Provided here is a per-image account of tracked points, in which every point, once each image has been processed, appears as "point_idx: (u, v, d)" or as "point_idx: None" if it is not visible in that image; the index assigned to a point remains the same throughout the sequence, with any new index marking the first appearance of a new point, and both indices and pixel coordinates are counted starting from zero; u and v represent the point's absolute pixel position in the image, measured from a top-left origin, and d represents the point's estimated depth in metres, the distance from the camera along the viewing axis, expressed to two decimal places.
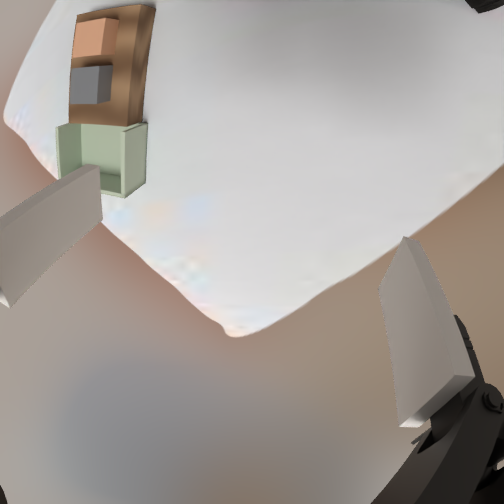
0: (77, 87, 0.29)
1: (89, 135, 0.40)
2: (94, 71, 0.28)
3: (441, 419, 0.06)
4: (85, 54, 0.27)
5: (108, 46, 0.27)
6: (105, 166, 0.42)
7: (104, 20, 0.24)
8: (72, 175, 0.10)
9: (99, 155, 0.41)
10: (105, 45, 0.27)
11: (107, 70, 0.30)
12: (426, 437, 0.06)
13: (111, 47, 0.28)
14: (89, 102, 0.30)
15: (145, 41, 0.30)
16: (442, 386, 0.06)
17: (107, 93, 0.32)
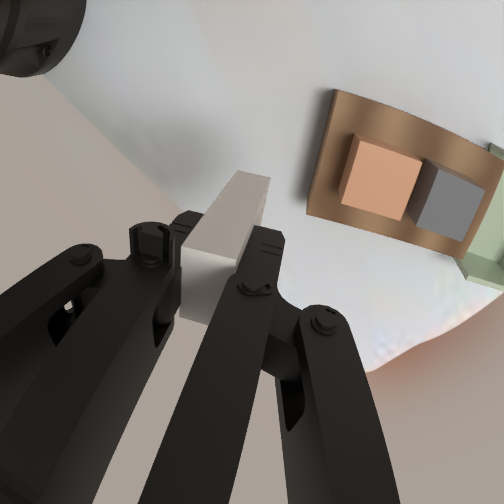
0: (449, 220, 0.20)
1: None
2: (442, 180, 0.19)
3: None
4: (408, 192, 0.20)
5: (404, 152, 0.20)
6: None
7: (365, 143, 0.19)
8: (237, 182, 0.12)
9: (498, 229, 0.26)
10: (404, 154, 0.19)
11: (437, 164, 0.20)
12: None
13: (403, 150, 0.20)
14: (478, 203, 0.19)
15: (391, 107, 0.22)
16: (206, 268, 0.08)
17: (465, 176, 0.20)
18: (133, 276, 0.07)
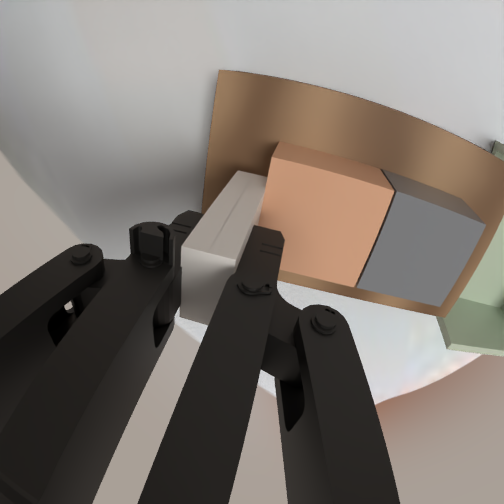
0: (417, 276, 0.13)
1: None
2: (404, 212, 0.11)
3: None
4: (367, 243, 0.12)
5: (363, 171, 0.12)
6: None
7: (281, 160, 0.11)
8: (237, 182, 0.12)
9: (503, 266, 0.18)
10: (362, 175, 0.12)
11: (399, 180, 0.12)
12: None
13: (363, 167, 0.13)
14: (471, 247, 0.11)
15: (325, 88, 0.14)
16: (206, 268, 0.08)
17: (452, 198, 0.12)
18: (133, 276, 0.07)
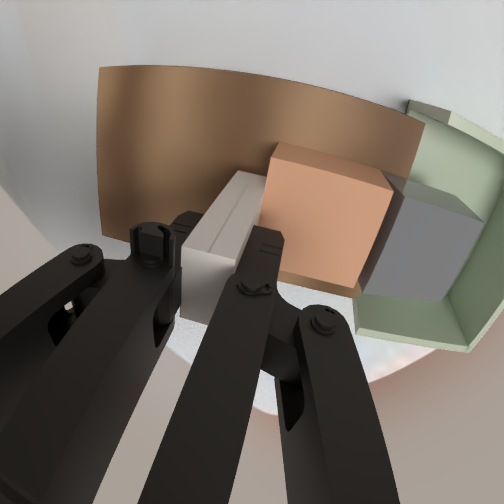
0: (421, 276, 0.13)
1: None
2: (411, 216, 0.11)
3: None
4: (367, 244, 0.12)
5: (363, 171, 0.12)
6: None
7: (281, 161, 0.11)
8: (238, 182, 0.12)
9: None
10: (362, 176, 0.12)
11: (400, 182, 0.12)
12: None
13: (363, 168, 0.13)
14: (471, 244, 0.12)
15: None
16: (205, 268, 0.08)
17: (448, 196, 0.13)
18: (133, 276, 0.07)
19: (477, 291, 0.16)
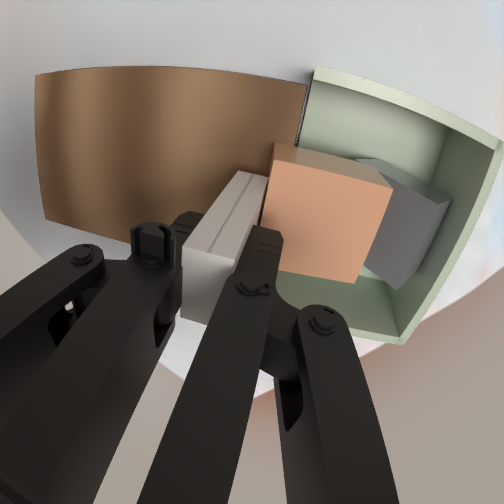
0: None
1: None
2: None
3: None
4: (367, 240, 0.13)
5: (360, 170, 0.12)
6: None
7: (284, 163, 0.11)
8: (238, 182, 0.12)
9: None
10: (361, 174, 0.12)
11: (432, 195, 0.13)
12: None
13: (359, 166, 0.13)
14: None
15: (115, 66, 0.15)
16: (204, 267, 0.08)
17: (378, 167, 0.14)
18: (134, 276, 0.07)
19: None
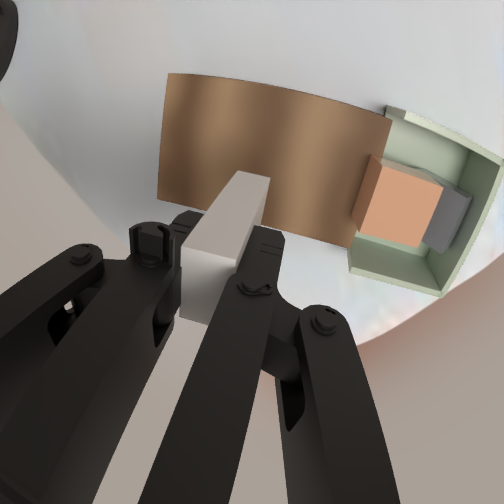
0: None
1: None
2: None
3: None
4: (427, 219, 0.19)
5: (423, 175, 0.19)
6: None
7: (388, 168, 0.17)
8: (237, 182, 0.12)
9: None
10: (425, 178, 0.18)
11: (462, 193, 0.19)
12: None
13: (421, 173, 0.19)
14: None
15: None
16: (206, 268, 0.08)
17: (428, 174, 0.20)
18: (133, 276, 0.07)
19: None
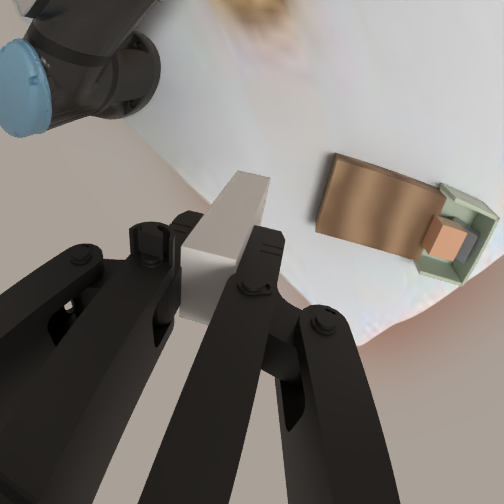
0: None
1: None
2: None
3: None
4: (458, 247, 0.36)
5: (458, 226, 0.36)
6: None
7: (445, 225, 0.35)
8: (237, 182, 0.12)
9: None
10: (459, 228, 0.35)
11: (475, 233, 0.36)
12: None
13: (456, 224, 0.37)
14: None
15: (370, 165, 0.39)
16: (206, 268, 0.08)
17: (458, 222, 0.38)
18: (133, 276, 0.07)
19: None
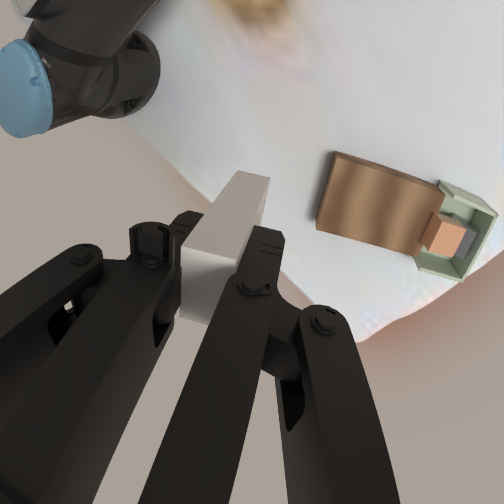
0: None
1: None
2: None
3: None
4: (458, 244, 0.37)
5: (457, 222, 0.36)
6: None
7: (444, 222, 0.35)
8: (237, 182, 0.12)
9: None
10: (458, 224, 0.36)
11: (474, 229, 0.37)
12: None
13: (455, 220, 0.37)
14: None
15: (369, 163, 0.39)
16: (206, 268, 0.08)
17: (457, 219, 0.38)
18: (133, 276, 0.07)
19: None
